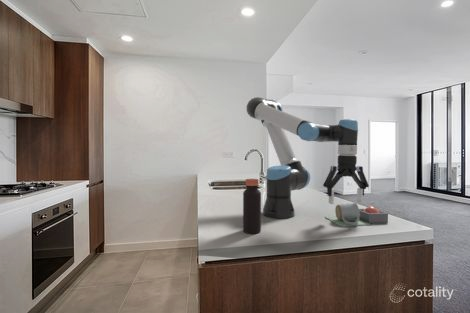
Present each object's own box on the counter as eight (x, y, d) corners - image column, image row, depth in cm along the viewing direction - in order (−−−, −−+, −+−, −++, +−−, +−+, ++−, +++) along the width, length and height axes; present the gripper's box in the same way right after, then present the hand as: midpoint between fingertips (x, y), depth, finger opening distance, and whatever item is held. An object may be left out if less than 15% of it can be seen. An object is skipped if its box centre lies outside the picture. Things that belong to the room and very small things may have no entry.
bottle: (260, 234, 88) (260, 180, 88) (241, 233, 90) (242, 180, 89) (261, 228, 95) (261, 178, 95) (244, 227, 96) (244, 178, 96)
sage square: (341, 226, 98) (341, 225, 98) (324, 217, 111) (324, 216, 111) (370, 225, 100) (370, 224, 100) (350, 216, 113) (350, 215, 113)
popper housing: (368, 223, 102) (369, 214, 102) (355, 217, 111) (355, 209, 111) (387, 222, 103) (388, 213, 103) (373, 216, 112) (373, 208, 112)
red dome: (369, 220, 104) (369, 208, 103) (359, 216, 110) (360, 205, 110) (382, 219, 105) (383, 208, 104) (372, 215, 111) (372, 204, 111)
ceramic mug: (334, 218, 109) (334, 201, 108) (353, 218, 108) (353, 201, 108) (342, 225, 98) (343, 207, 98) (363, 226, 97) (363, 207, 97)
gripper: (324, 155, 99) (323, 205, 100) (379, 155, 103) (377, 204, 104) (316, 154, 107) (314, 201, 108) (367, 155, 110) (365, 200, 111)
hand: (345, 203), depth 106 cm, fingers open, 13 cm apart
